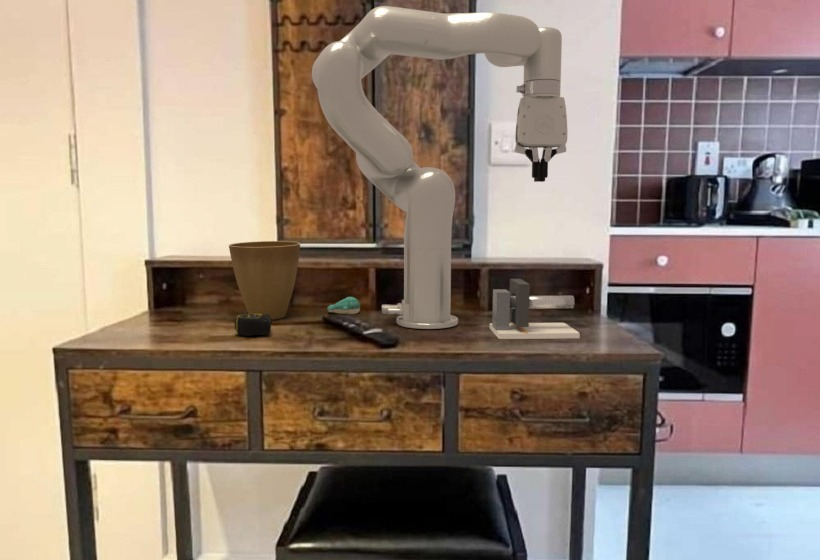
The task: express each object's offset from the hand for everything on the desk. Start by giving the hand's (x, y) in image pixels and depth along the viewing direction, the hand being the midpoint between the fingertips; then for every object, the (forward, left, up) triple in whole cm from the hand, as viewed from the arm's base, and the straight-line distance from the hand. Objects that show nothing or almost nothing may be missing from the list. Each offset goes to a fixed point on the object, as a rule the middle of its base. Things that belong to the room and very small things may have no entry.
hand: (539, 181), depth 138 cm
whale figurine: (-42, +8, -30) cm, 52 cm away
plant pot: (-58, +3, -29) cm, 65 cm away
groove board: (-5, -16, -29) cm, 33 cm away
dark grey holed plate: (-7, -16, -27) cm, 32 cm away
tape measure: (-57, -14, -30) cm, 66 cm away
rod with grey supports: (-5, -16, -29) cm, 33 cm away
